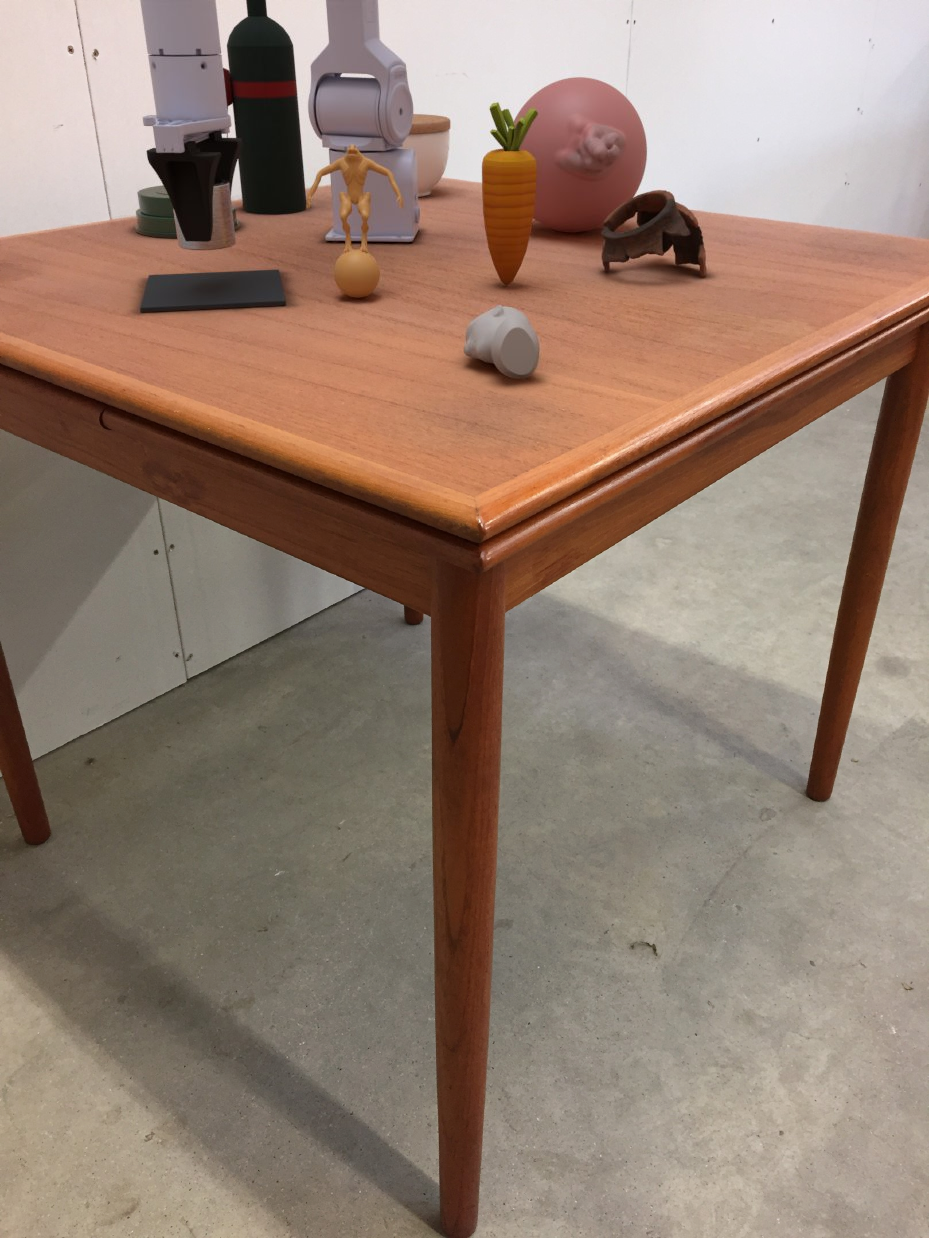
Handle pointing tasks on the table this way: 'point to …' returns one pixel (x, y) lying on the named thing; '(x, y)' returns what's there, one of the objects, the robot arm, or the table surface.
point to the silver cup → (215, 222)
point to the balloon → (583, 152)
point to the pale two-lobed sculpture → (504, 341)
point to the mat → (213, 290)
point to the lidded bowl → (429, 149)
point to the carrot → (508, 193)
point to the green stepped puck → (159, 214)
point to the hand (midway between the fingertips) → (207, 234)
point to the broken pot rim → (654, 231)
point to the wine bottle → (265, 113)
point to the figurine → (357, 266)
